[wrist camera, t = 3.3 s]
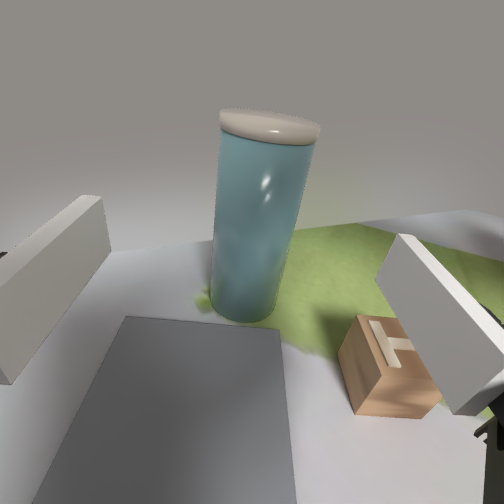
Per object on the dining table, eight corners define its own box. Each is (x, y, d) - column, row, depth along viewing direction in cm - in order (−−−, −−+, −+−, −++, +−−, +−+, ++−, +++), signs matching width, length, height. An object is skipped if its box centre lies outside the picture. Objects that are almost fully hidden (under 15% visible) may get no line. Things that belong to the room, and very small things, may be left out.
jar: (273, 278, 37) (311, 117, 26) (278, 326, 30) (331, 136, 19) (213, 272, 37) (224, 104, 25) (204, 319, 30) (214, 119, 19)
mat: (278, 332, 30) (279, 329, 29) (299, 548, 17) (300, 546, 16) (126, 319, 29) (126, 316, 28) (18, 539, 15) (15, 536, 15)
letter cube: (391, 358, 29) (419, 318, 26) (420, 419, 24) (459, 380, 21) (336, 354, 29) (357, 312, 25) (354, 415, 24) (382, 374, 20)
